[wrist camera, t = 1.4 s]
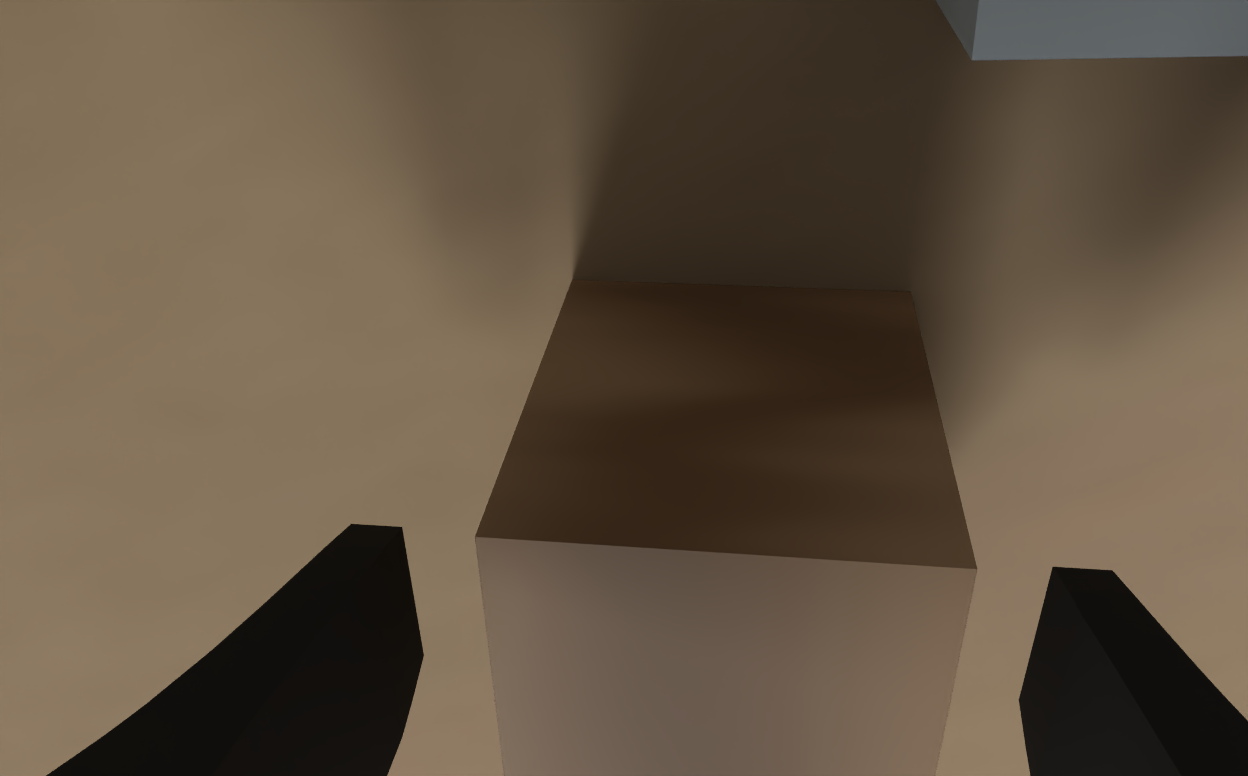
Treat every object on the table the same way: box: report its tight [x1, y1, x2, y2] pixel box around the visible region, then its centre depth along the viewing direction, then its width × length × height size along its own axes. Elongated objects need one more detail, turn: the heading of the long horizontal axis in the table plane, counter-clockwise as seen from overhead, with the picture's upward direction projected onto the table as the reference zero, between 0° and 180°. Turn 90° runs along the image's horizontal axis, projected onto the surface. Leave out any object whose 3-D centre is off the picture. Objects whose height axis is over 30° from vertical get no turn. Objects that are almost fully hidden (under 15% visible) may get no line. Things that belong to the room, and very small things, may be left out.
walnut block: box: [475, 280, 977, 776], centre depth 13 cm, size 4×4×6 cm
